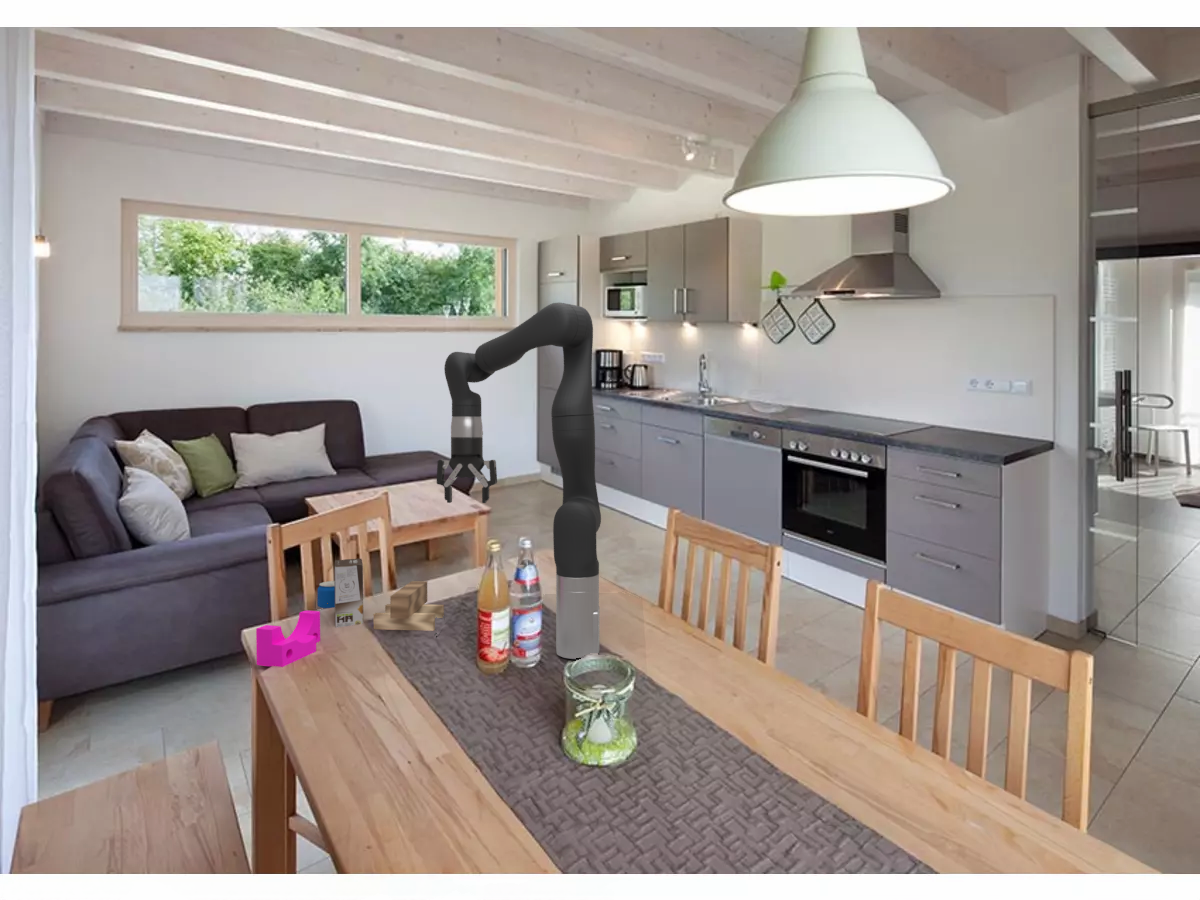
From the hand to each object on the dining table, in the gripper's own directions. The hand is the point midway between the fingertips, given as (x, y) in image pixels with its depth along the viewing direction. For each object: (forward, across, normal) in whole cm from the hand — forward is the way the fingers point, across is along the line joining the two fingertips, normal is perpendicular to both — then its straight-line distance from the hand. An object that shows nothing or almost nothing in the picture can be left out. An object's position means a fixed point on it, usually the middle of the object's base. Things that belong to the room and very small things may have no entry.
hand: (467, 502), depth 170 cm
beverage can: (+33, -36, +6) cm, 49 cm away
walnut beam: (+25, -13, -4) cm, 29 cm away
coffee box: (+30, -28, -3) cm, 41 cm away
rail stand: (+30, -13, -4) cm, 33 cm away
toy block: (+30, -32, -22) cm, 50 cm away
